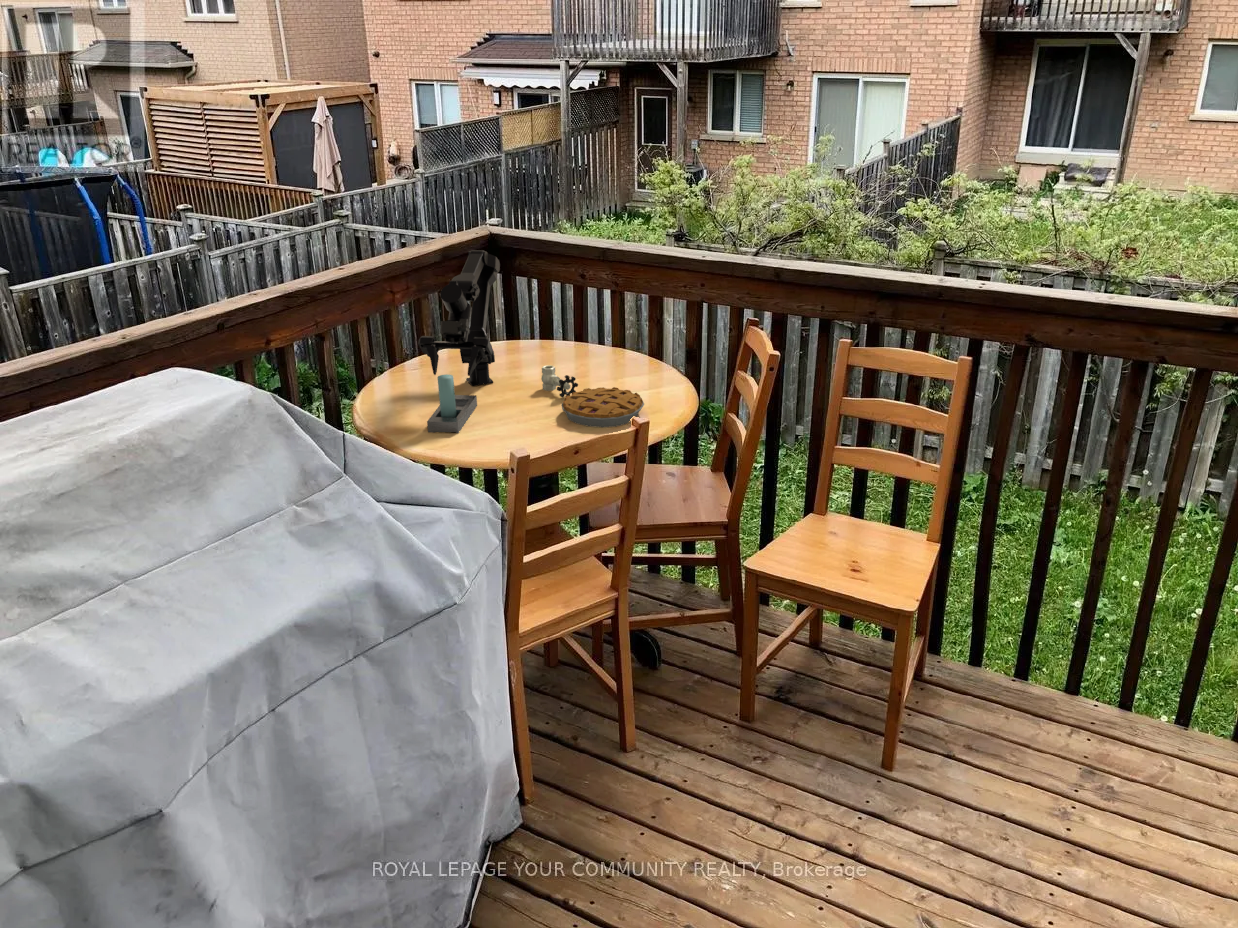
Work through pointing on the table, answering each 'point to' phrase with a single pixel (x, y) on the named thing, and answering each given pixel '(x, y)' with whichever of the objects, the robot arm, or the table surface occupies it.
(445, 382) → the dowel
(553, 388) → the valve
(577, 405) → the pie
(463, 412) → the grey slotted block
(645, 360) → the table surface
